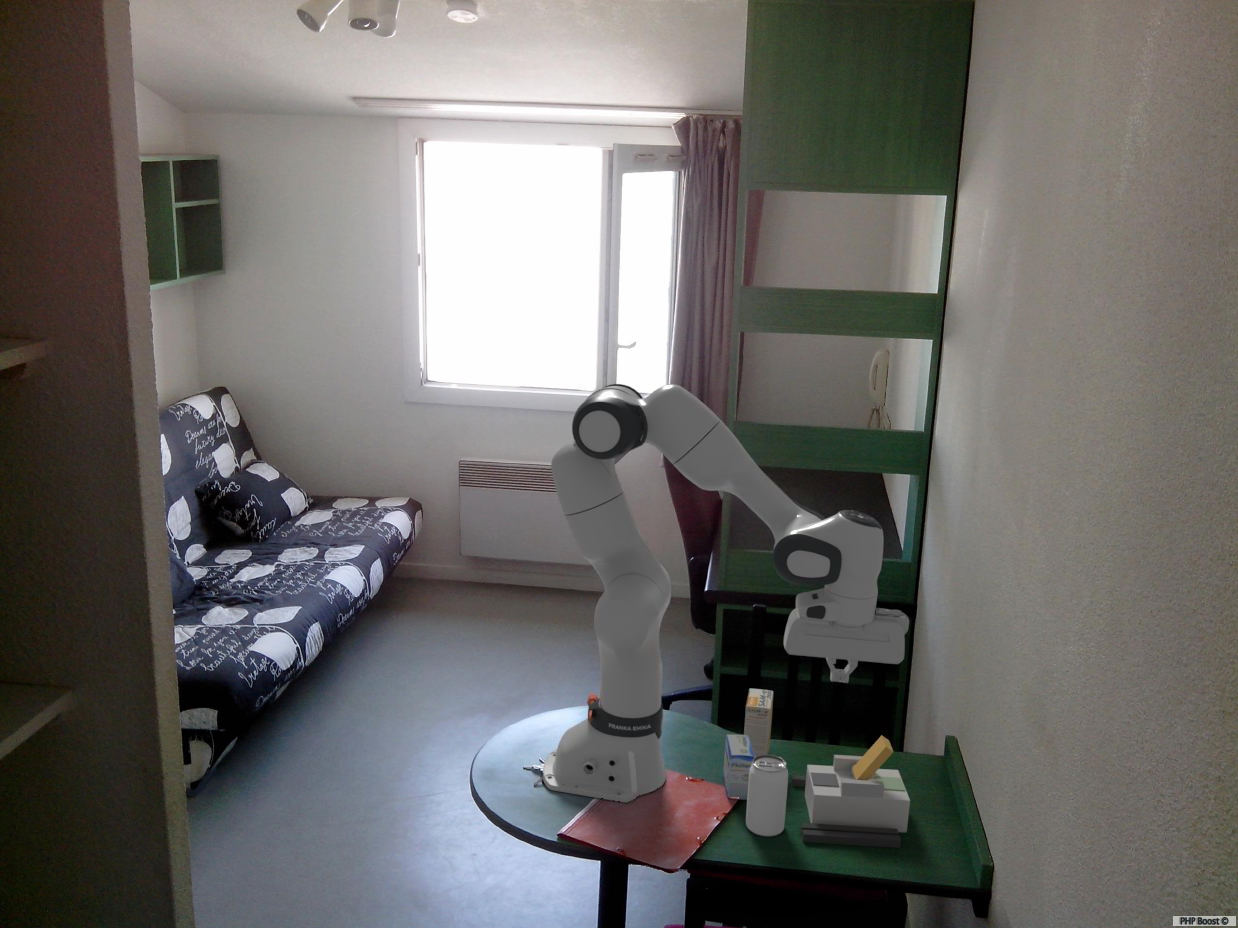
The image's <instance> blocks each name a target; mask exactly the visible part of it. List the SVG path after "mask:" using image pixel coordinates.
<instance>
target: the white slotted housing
mask: <svg viewBox="0 0 1238 928" xmlns="http://www.w3.org/2000/svg"><path fill="white" fill-rule="evenodd" d="M863 756H864V755H863ZM863 756H861V755H860V756H859V755H846V754H845V755H843V754H833V765H820V764H807V765H806V775H805V776H806V785H805V787H804V797H805V804H806V807H807V813H808V816H809V821H810V822H809V823H813V824H829V825H845V826H861V827H877V828H893V829H897V830H898V833H907V832H908V824H909V823H908V822H909V817H910V816H909V815H910V807H911V799H910V797H909V794H908V791H907V789H906V786H905V784H904V782H903V779H902V776H901V773H900V771H899V770H898V769H888V768H887V769H885V768H879V769H878V770H877V771H876V772H875V773H874V774H873V775H872V777H871V778H870V779H869V780H868V781H867V780H854V779H853V776H852V772H851V766H852V765H855V764H857V762H858V761H859V760H860V759H861V758H862V757H863Z"/></svg>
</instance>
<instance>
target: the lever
mask: <svg viewBox="0 0 1238 928" xmlns="http://www.w3.org/2000/svg"><path fill="white" fill-rule="evenodd" d="M893 753H894V750H893V747H892V744H891V742H890V740H889V739H887V738H886V737H885V736H883V735H880V737H879V738H878V739H877V740H876V741H875V742H874V744H872V746H871V747H870V748H869V749H868V750H867V751H866V752H865V753H864V755H863V757H862V758H861V759H860V760H859V761H858V762H857V764H855V765H852V766H851V772H852V776H853V779H854V780H867V781H868V780H869V779H870V778H871V777H872V775H873V774H874V773H875V772H876V771H877V770H878V769H881V766H882V765H883V764H885V762H886V761H887V760H888V759H889V758H890V757H891V756H892V754H893Z"/></svg>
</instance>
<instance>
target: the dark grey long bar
mask: <svg viewBox="0 0 1238 928" xmlns="http://www.w3.org/2000/svg"><path fill="white" fill-rule="evenodd" d="M790 784H791V786H792V787H801V788H803V787H804V788H805V785H806V775H798V774H797V775H796V774H792V775H791V778H790Z"/></svg>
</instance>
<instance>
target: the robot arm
mask: <svg viewBox="0 0 1238 928" xmlns="http://www.w3.org/2000/svg"><path fill="white" fill-rule="evenodd" d="M571 430H572V431H571V432H572V436H573V441H571V442H568V443H567V444H565V445H563V446H562V447H560V449H558V450H557V451H556V452H555V454H554V455H553V457H552V460H551V465H550V466H551V467H550V468H551V474H552V479H553V483H554V487H555V492H556V495H557V497H558V500H559V503H560V507H561V509H562V513H563V514H564V517H565V519H566V522H567V524H568V528H570V532H571V534H572V536H573V539H574V541H575V544H576V546H577V549H578V551H579V553H580V555H581V556H582V558H584V559H585V560H587V561H588V562H589V563H590V565H591V566H592V567H593V568H594V570H595V572H596V573H597V574H598V576H599V578H600V580H601V581H602V584H603V587H604V592H603V593H602V595H601V596H600V597H599V599H598V601H597V603H596V607H595V611H594V616H593V617H594V618H593V619H594V620H593V628H594V632H595V634H596V637H597V638H596V639H597V644H598V645H597V646H598V650H599V658H600V659H599V660H600V679H599V681H600V684H599V696H598V694H596V693H590V694H589V695H588V697H587V701H586V704H587V706H588V707H587V708H588V709H587V718H586V719H584V720H582V721H580V722H579V723H577V724H575V725H574V726H572V727H570V728H568V729H567V730H565V732H564V733H563V735H562V736H561V738H560V740H559V742H558V745H557V748H556V749H555V750H552V751H551V752H550V754H549V755H548V756H547V757H546V759H545V762H544V765H543V770H542V779H543V782H544V785H545V787H546V788H548V790H551V791H554V792H561V793H565V794H566V793H567V794H572V795H578V796H583V797H590V798H596V799H601V798H603V799H602V800H607V801H613V800H614V801H613V802H618V801H620V802H619V803H630V802H632V801H634V800H635V799H637V798H638V797H640V796H642V795H646V794H649V793H651V792H654V791H656V790H658V789H660V787H662V786H663V785H664V783H665V782H666V779H667V772H666V769H665V766H664V760H663V752H662V743H661V742H662V741H661V740H662V739H661V736H662V733H663V731H664V730H663V729H664V728H663V727H664V705H663V703H662V687H663V686H662V685H663V662H662V659H661V649H660V648H661V647H660V628H661V624H662V620H663V617H664V615H665V613H666V610H667V609H668V606H669V605H670V602H671V599H672V582H671V577H670V574H669V573H668V571H667V570H666V568H665V567H664V566H663V565H662V564H661V563H660V562H659V561H658V559H657V558H656V556H655V554H654V553H653V551H652V549H651V547H650V546H649V545H648V544H647V542H646V540H645V538H644V537H643V535H642V532H641V531H640V529H639V526H638V524H637V521H636V519H635V517H634V514H633V512H632V509H631V507H630V503H629V501H628V499H627V497H626V495H625V492H624V489H623V486H622V484H621V482H620V480H619V477H618V474H617V471H616V465H615V461H616V458H619V457H620V456H623V455H625V454H627V453H628V452H630V451H633V450H635V449H637V448H640V447H641V446H644V445H645V444H649V445H651V446H653V447H655V449H657V450H658V451H659V452H660V453H661V454H662V455H663V456H664V457H665V458H666V459H667V460H668V462H670V463H671V464H672V465H673V467H675V469H676V470H678V472H679V473H680V474H682V475H683V477H685V479H687V480H688V481H690V482H691V483H692V484H694V486H695V485H696V486H697V487H698V488H700V489H701V490H702V491H703V490H704V491H711V492H712V491H713V492H715V491H717V492H718V491H720V492H726V493H730V494H731V495H734V496H736V497H737V498H738V499H740V500H741V501H742V502H743V503H744V504H745V505H746V506H747V507H748V508H749V509H750V510H751V511H752V512H754V514H755V515H757V516H758V518H759V519H761V521H763V523H764V524H766V525H767V527H768V528H769V530H770V531H771V532H772V535H773V539H774V544H773V550H772V566H773V569H774V570H775V572H776V573H777V576H779V577H780V578H781V579H782V580H783V581H785V582H787V583H788V584H791V585H795V586H809V587H810V586H824V587H823V588H819V589H814V590H811V591H803V592H800V593H798V594H797V595H796V597H795V608H794V609H792V611H791V613H790V614H789V616H788V619H787V622H786V626H785V630H784V635H783V647H784V650H785V651H786V653H787V654H788V655H792V656H802V657H803V656H805V657H812V658H813V657H814V658H824V659H825V660H826V663H827V666H828V667H829V669H830V670H829V671H830V675H829V676H830V677H829V679H830V682H835V683H837V682H838V683H843V684H845V683H846V684H848V683H849V681H850V680H849V679H850V675H851V674H852V673H853V671H854V670H855V669H856V668H857V667H858V663H859V662H871V663H881V664H890V665H899V664H900V663H901V662H903V660H905V649H906V648H905V647H906V646H905V641H906V640H905V634H907V633H908V630H909V625H910V620H909V616H908V615H907V614H905V613H904V612H902V610H899V609H889V608H882V607H881V608H880V607H877V601H878V600H877V599H878V595H879V594H878V593H879V588H878V577H879V575H880V573H881V571H882V565H883V555H884V531H883V528H882V526H881V523H879V521H878V520H877V519H875V518H874V517H872V516H870V515H869V514H867V513H864V512H861V511H858V510H853V509H851V510H850V509H843V510H840V511H838V512H837V513H836V514H834V515H832V516H829V517H827V518H826V517H825V516H823V515H822V514H821V513H819V512H817V511H816V510H813V509H811V508H809V507H806V506H803V505H802V504H800V503H798V502H796V501H795V499H793V498H791V497H790V496H789V495H788V494H787V493H786V492H785V491H784V490H783V489H782V488H781V487H780V486H779V485H778V484H777V483H776V482H775V481H774V480H773V479H772V478H770V476H769V475H768V474H767V473H765V471H764V470H763V469H761V468H760V467H759V465H758V464H757V463H756V462H755V461H754V459H753V457H751V456H750V454H749V453H748V452H747V450H746V449H745V448H744V446H743V445H742V443H741V442H740V441H739V439H738V438H737V437H736V436H735V434H734V433H733V432H732V431H731V430H730V429H729V427H728V426H727V425H726V424H725V423H724V421H723V420H722V419H721V418H720V417H718V416H717V414H716V413H715V412H714V411H713V410H711V408H709V407H708V406H707V405H706V404H705V403H704V402H702V401H701V400H700V399H699V398H698V397H697V396H695V395H694V394H692V393H691V392H690V391H689V390H687V389H685V388H684V387H683V386H681V385H678V384H673V383H671V384H667V385H663V386H660V387H659V388H656V389H655V390H654V391H652V393H650V394H649V395H648V396H646V397H643V396H642V394H641V393H639V391H638V390H636V389H634V388H633V387H631V386H630V385H626V384H622V383H613V384H608V385H606V386H603V387H602V388H600V389H597V390H596V391H594V392H593V393H591V394H590V395H589V396H588V397H586V399H585V400H584V401H583V402H582V403H581V404H580V405H579V406H578V408H577V410H576V411H575V413H574V416H573V419H572V424H571ZM837 660H846V661H847V662H848V663H847V665H846V666H845V667H844V669H842V668H841V669H840V668H836V667H835V664H837ZM657 788H658V789H657ZM639 795H640V796H639ZM637 796H638V797H637ZM636 797H637V798H636ZM633 799H634V800H633ZM631 800H632V801H631ZM629 801H630V802H629Z"/></svg>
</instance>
